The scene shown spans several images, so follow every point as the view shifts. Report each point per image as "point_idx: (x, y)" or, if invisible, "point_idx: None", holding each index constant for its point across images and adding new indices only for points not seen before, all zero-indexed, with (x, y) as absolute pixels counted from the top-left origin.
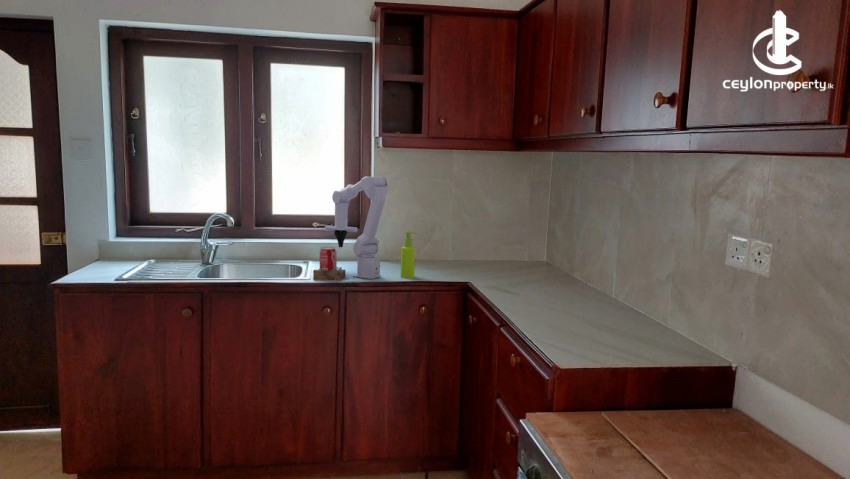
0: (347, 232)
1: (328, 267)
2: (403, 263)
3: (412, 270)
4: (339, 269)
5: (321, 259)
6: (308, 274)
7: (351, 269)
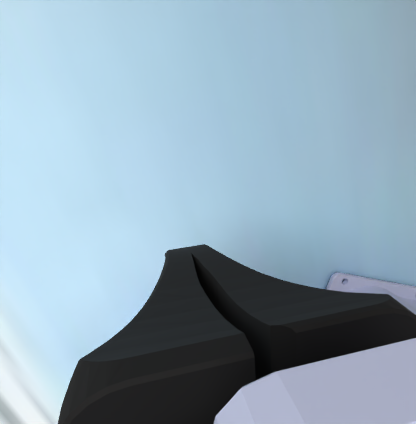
0: (413, 336)
1: None
2: None
3: None
4: None
5: None
6: (23, 409)
7: (232, 154)
